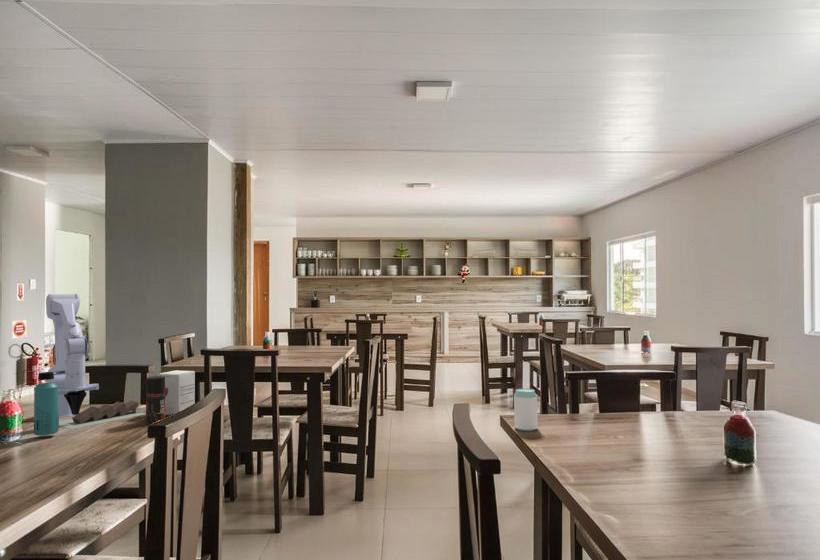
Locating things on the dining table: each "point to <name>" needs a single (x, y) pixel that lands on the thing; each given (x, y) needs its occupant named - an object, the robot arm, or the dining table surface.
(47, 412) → the beverage bottle
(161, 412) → the deodorant
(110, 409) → the tile
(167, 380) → the supplement box
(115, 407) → the tile
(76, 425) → the mat
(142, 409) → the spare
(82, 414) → the tile
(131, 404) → the tile
